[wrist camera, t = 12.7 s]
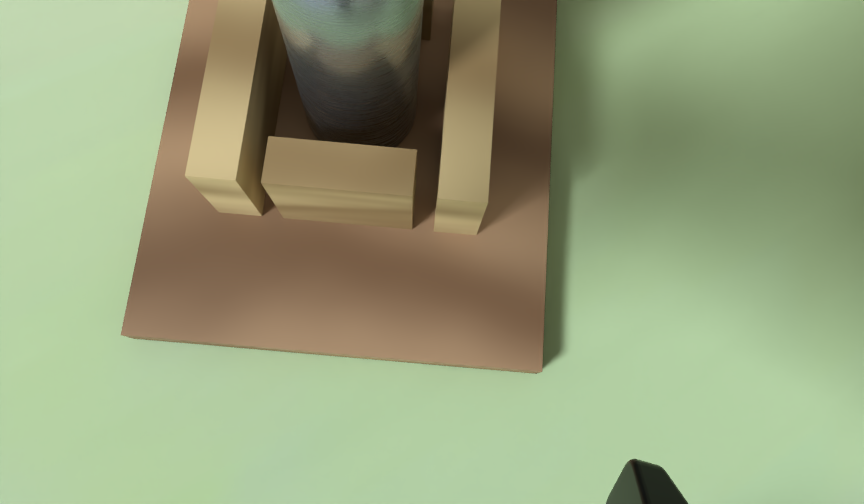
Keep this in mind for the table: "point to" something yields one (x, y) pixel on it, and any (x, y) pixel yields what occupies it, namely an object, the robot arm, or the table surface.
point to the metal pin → (355, 66)
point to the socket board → (354, 199)
